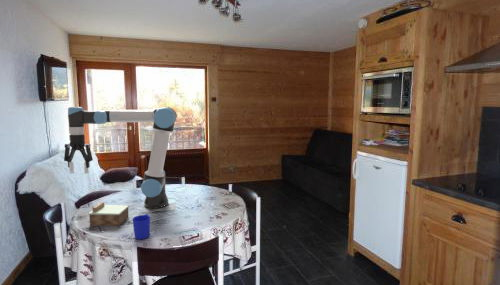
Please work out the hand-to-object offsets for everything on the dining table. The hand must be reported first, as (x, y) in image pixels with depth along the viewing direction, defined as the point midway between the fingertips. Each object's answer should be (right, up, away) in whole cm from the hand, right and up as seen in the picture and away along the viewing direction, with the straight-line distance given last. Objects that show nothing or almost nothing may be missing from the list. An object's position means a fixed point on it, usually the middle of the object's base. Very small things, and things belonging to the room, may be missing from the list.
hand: (79, 173), depth 175 cm
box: (+21, -27, -6) cm, 34 cm away
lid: (+21, -20, -7) cm, 30 cm away
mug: (+45, -29, -23) cm, 59 cm away
